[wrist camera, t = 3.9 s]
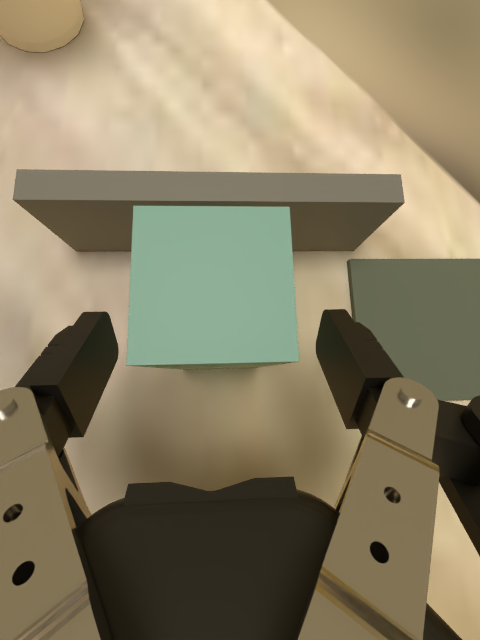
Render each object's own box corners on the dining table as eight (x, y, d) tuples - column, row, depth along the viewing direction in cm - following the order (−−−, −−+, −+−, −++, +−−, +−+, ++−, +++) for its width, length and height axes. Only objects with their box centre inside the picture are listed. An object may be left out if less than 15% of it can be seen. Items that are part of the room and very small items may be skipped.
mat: (360, 402, 17) (364, 402, 17) (347, 261, 19) (349, 259, 19) (501, 397, 18) (507, 398, 17) (476, 261, 19) (481, 258, 19)
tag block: (182, 369, 17) (126, 365, 7) (183, 291, 18) (133, 196, 8) (257, 367, 17) (299, 361, 8) (254, 291, 18) (289, 197, 8)
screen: (76, 251, 18) (12, 199, 13) (81, 187, 19) (23, 113, 14) (353, 250, 19) (404, 202, 14) (347, 190, 20) (393, 122, 15)
